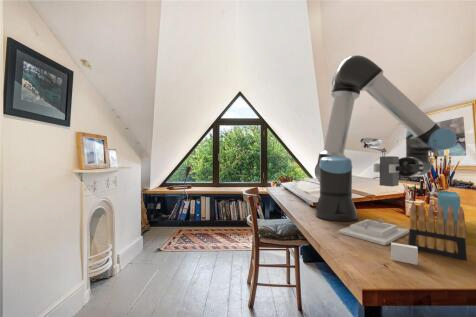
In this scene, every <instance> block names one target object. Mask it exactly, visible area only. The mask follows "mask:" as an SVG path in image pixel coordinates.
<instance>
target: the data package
mask: <svg viewBox="0 0 476 317" xmlns="http://www.w3.org/2000/svg"><path fill="white" fill-rule="evenodd" d="M439 205H441V206H442V208H443V213H444V222H445V233H446V221H447V211H448V208H449V206H452V209H453V212H454V222H455V235H456V224H457V215H458V210H459V208H460V207H461V197H460V196H459V194H458V193H457V192H455V191H443V190H438V191H437V208H438V207H439Z"/></svg>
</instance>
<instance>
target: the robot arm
mask: <svg viewBox="0 0 476 317" xmlns="http://www.w3.org/2000/svg"><path fill="white" fill-rule="evenodd" d="M331 86H332V87H331V94H330V95H331V97H332V98H333V102H332V107H331V109H330V116H329V119H328V120H329V121H328V125H327V130H326V136H325V141H324V146H323V150H322V151H320V153H319V154H318V159H317V163H316V165H315V168H314V174H315V178H316V179H317V180H318V182H319V197H318V201H317V203H316V205H315V209H314V211H315V212H314V213H315V214H314V215H315V216H316V217H318V218H320V219H323V220H326V221H333V222H334V221H335V222H336V221H337V222H352V221H356V220H357V219H358V212H357V209H356V206H355V204H354V200H353V193H352V192H353V189H352V188H353V165H352V160H351V158H350V157H347V156H346V155H345V149H346V143H347V140H348V135H349V130H350V125H351V124H350V123H351V119H352V114H353V110H354V104H355V100H357V99H358V98H359V97H360V95H361V94H360V93H361V91H362V92H365V91H366V93H368V95H369V96H371V97H372V98H373V99H374V100H375V101H376V102H377V103H378V104H379V105H380V106H381V107H383V109H385V111H387V112H388V113H389V114H390V115H391V116H392V117H393V118H394V119H395V120H396V121H397V122H398V123H400V124H401V125H402V126H403V127H404V128H405V129H406V136H405V144H406V145H405V152H406V153H405V156H403V157H400V158H399V164H392V165H389V173H397V172H399V176H400V177H402V178H403V177H405V178H408V177H409V178H413V176H415V177H416V176H423V175H425V174H427V173H429V172H430V171H431V169H432V163H431V161H430V159H429V155H430V151H433V152H434V151H437V152H440V151H445V150H450V149H451V148H453V147H454V146H455V144H456V142H457V139H458V138H457V134H456V133H455V132H454V130H452V129H449V128H445V127H444V128H443V127H440V126H439V125H438V124H437V123H436V122H435V121H433V119H431V118H430V117H429V116H428V115H427V114H426V113H425V112H424V111H423V110H422V109H421V108H420V107H419V106H418V105H417V104H415V103H414V102H413V101H412V100H411V99H410V98H409V97H408V96H406V94H404V92H402V91H401V90H400V89H398V87H397V86H395V84H393V82H391V81H390V80H389V79H388V78H387V77H386V76H384V70H383V69H382V68H381V67H380V66H379V65H378V64H376V63H375V62H374V61H373V60H371V59H370V58H368V57H365V56H363V55H350V56H349V57H347V58H345V59H344V60H343V61H342V62H341V63H340V65H339V67H338V69H337V71H335V73H334V75H333V77H332V81H331ZM373 173H379V174H380V163H373Z"/></svg>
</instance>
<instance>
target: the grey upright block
mask: <svg viewBox="0 0 476 317" xmlns="http://www.w3.org/2000/svg"><path fill="white" fill-rule="evenodd" d="M399 157H400V156H395V155H394V156H393V155H390V156H388V155H387V156H385V155H384V156H379V164H380V173H379V186H381V187H382V186H384V187H391V188H392V187H398V186H399V183H400V182H399V179H400V178H399V176H400V175H399V172H397V173H389V165H392V164H399V159H400V158H399Z"/></svg>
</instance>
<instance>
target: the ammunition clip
mask: <svg viewBox="0 0 476 317" xmlns="http://www.w3.org/2000/svg"><path fill="white" fill-rule="evenodd" d="M408 223H409V224H408V226H409V227H408V228H409V229H408V230H409V233H408V245H410V246H416V247H417V248H418V252H422V251H423V252H422V253H426V252H427V254H432V255H436V256H441V257H445V258H450V259H455V260H460V261H465V262H467V260H468V258H467V226H466V219H465V211H464V209H463V207H462V206H460V208H459V210H458V215H457V224H456V235H455V222H454V212H453V209H452V206H449V208H448V211H447V221H446V233H445V222H444V213H443V208H442V206H441V205H439V207H438V206H437V211H436V220H435V210H434V206H433V204H432V203H430V204H429V205H428V208H427V218H426V209H425V205H424V203H423V202H421V203H420V205H419V208H418V217H417V207H416V203H415V202H414V201H412V203H411V205H410V211H409V222H408Z"/></svg>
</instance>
